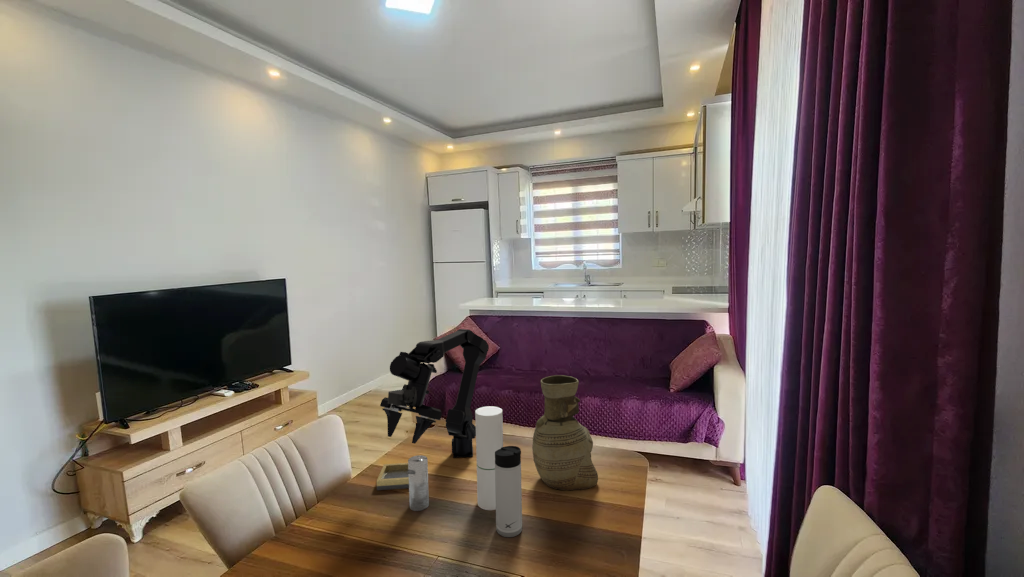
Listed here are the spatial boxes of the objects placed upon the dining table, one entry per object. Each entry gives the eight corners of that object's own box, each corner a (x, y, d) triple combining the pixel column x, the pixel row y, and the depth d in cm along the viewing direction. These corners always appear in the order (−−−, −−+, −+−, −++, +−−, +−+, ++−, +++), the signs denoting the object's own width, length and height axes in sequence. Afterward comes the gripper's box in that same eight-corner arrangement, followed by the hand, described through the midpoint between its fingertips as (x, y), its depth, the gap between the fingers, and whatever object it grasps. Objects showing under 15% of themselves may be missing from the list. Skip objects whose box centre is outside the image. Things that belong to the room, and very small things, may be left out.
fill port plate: (417, 470, 130) (416, 462, 129) (412, 487, 120) (412, 478, 120) (384, 472, 129) (383, 464, 129) (376, 490, 119) (376, 481, 119)
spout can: (415, 498, 114) (413, 454, 113) (432, 501, 113) (430, 456, 112) (401, 514, 107) (399, 467, 106) (419, 517, 106) (417, 469, 105)
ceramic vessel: (603, 466, 130) (602, 371, 128) (593, 503, 110) (592, 392, 109) (544, 457, 137) (542, 367, 135) (524, 491, 117) (522, 386, 115)
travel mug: (512, 542, 96) (511, 457, 95) (490, 531, 100) (489, 449, 99) (528, 527, 101) (527, 447, 100) (506, 518, 105) (505, 440, 103)
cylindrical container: (505, 495, 115) (503, 406, 113) (502, 510, 108) (500, 416, 106) (480, 494, 116) (477, 406, 114) (475, 509, 109) (472, 415, 107)
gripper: (375, 373, 120) (356, 429, 114) (425, 381, 110) (406, 443, 105) (401, 382, 128) (384, 435, 123) (449, 391, 119) (433, 448, 114)
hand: (401, 439), depth 116 cm, fingers open, 9 cm apart
